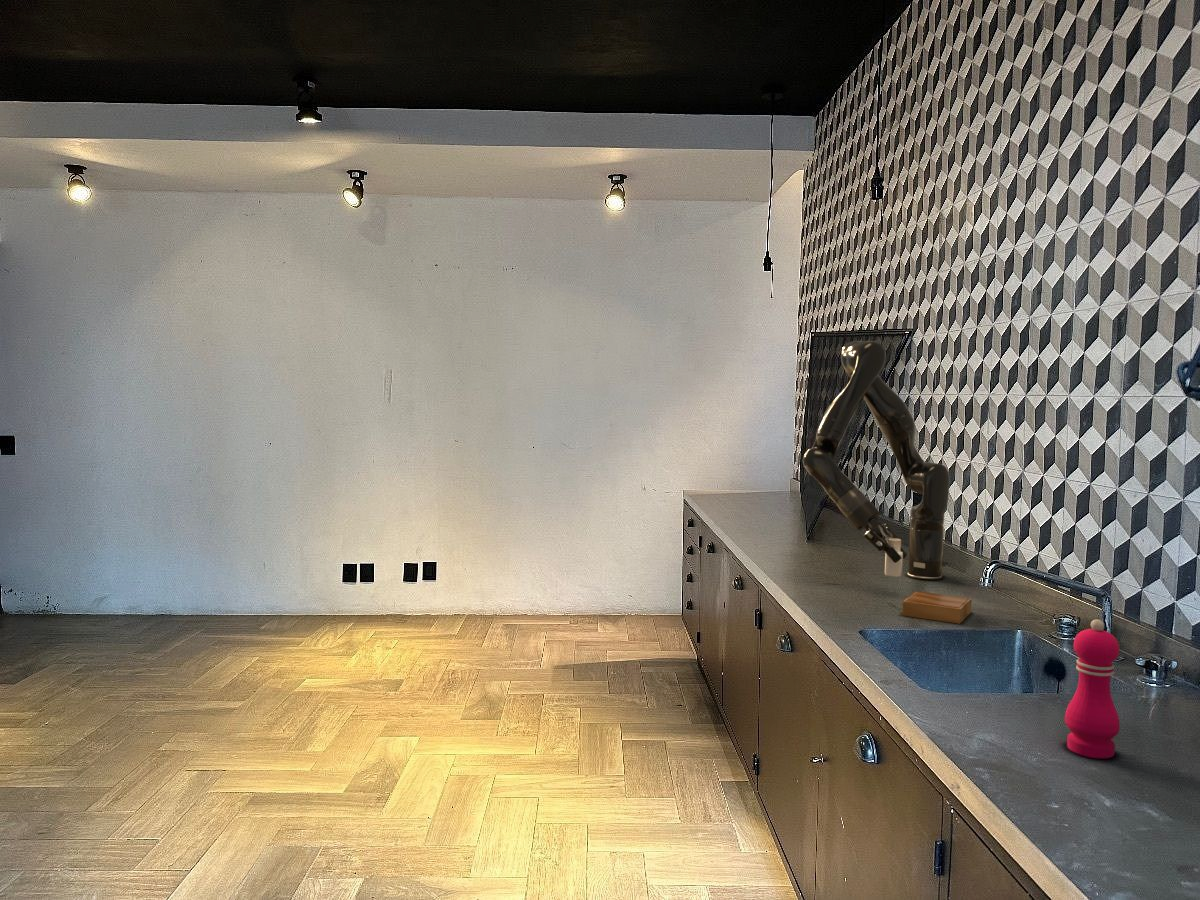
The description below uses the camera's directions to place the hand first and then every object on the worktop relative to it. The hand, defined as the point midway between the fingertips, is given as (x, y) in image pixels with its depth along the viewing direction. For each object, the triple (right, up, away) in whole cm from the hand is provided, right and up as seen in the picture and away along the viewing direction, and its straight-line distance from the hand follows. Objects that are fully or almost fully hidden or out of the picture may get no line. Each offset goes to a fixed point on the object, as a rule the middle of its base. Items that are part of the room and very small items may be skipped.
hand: (901, 558), depth 235 cm
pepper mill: (-4, -17, -99) cm, 100 cm away
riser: (+3, -11, -16) cm, 20 cm away
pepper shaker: (-2, -5, +1) cm, 5 cm away
